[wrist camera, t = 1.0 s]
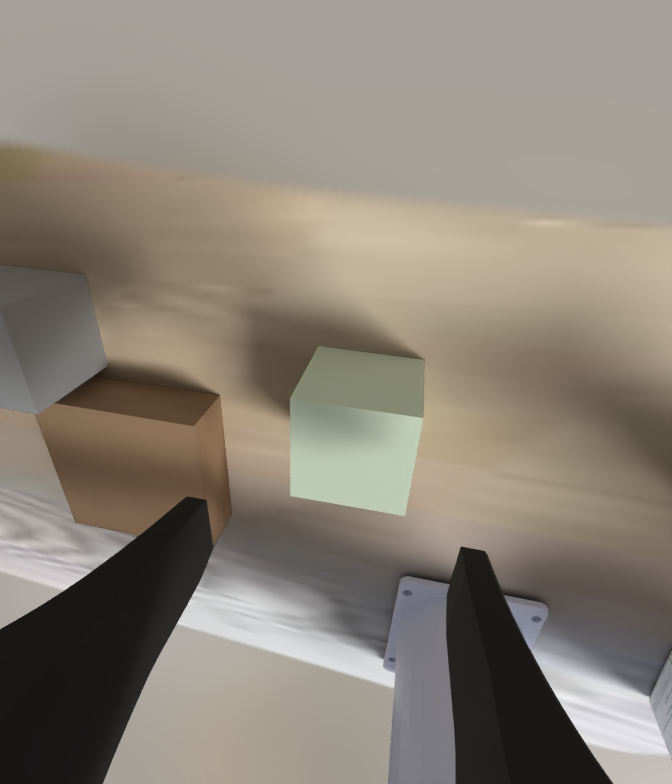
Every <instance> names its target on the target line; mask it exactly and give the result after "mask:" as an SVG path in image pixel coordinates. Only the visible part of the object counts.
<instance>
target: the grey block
mask: <svg viewBox="0 0 672 784" xmlns="http://www.w3.org/2000/svg"><path fill="white" fill-rule="evenodd" d="M107 366H108V364H107V360H106V356H105V352H104V348H103V344H102V340H101V336H100V332H99V327H98V323H97V319H96V315H95V311H94V307H93V303H92V299H91V295H90V291H89V287H88V283H87V279H86V275H85V274H80V273H71V272H62V271H53V270H45V269H36V268H27V267H19V266H10V265H1V264H0V408H3V409H9V410H15V411H21V412H27V413H33V414H39V413H41V412H42V411H44V410H45V409H47V408H48V407H49V406H51V405H52V404H54V403H55V402H57V401H58V400H59V399H61V398H62V397H64V396H65V395H67V394H68V393H70V392H71V391H72V390H74V389H75V388H77V387H78V386H80V385H81V384H82V383H84V382H85V381H87V380H88V379H90V378H91V377H93V376H94V375H95V374H97V373H98V372H100V371H101V370H103V369H104V368H105V367H107Z"/></svg>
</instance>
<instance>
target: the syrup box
mask: <svg viewBox="0 0 672 784" xmlns="http://www.w3.org/2000/svg"><path fill="white" fill-rule="evenodd" d="M649 702H650V705H651V708H652V710H653V713H654V716H655V718H656V721H657V724H658V726H659V728H660V731H661V733H662V736H663V739H664V741H665V744H666V747H667V749H668V752H669V754H670V757H671V760H672V651H671V653H670V655H669V657H668V659H667V661H666V663H665V666H664V668H663V670H662V671H661V674H660V676H659V678H658V680H657V682H656V685H655V687H654V689H653V692H652V694H651V696H650V698H649Z"/></svg>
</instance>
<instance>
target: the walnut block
mask: <svg viewBox="0 0 672 784" xmlns="http://www.w3.org/2000/svg"><path fill="white" fill-rule="evenodd" d="M35 415H36V418H37V420H38V423H39V426H40V428H41V431H42V434H43V437H44V439H45V442H46V445H47V447H48V450H49V453H50V455H51V458H52V461H53V463H54V466H55V469H56V472H57V474H58V477H59V480H60V482H61V485H62V488H63V490H64V493H65V496H66V499H67V501H68V504H69V507H70V509H71V512H72V515H73V517H74V520H75V523H80V524H85V525H90V526H95V527H99V528H104V529H109V530H114V531H119V532H123V533H128V534H133V535H138V536H139V535H140V534H142V533H143V532H144V531H145V530H147V529H148V528H149V527H150V526H151V525H153V524H154V523H155V522H156V521H157V520H159V519H160V518H161V517H162V516H163V515H165V514H166V513H167V512H168V511H169V510H171V509H172V508H173V507H174V506H175V505H177V504H178V503H179V502H180V501H181V500H183V499H184V498H185V497H187V496H189V497H194V498H199V499H205V500H207V506H208V513H209V520H210V527H211V534H212V541H213V548H214V546H215V544H216V542H217V540H218V539H219V537H220V535H221V533H222V531H223V529H224V528H225V526H226V524H227V522H228V520H229V518H230V517H231V515H232V509H231V499H230V489H229V480H228V470H227V460H226V450H225V440H224V430H223V420H222V410H221V401H220V395H215V394H208V393H201V392H195V391H188V390H181V389H175V388H168V387H161V386H155V385H148V384H141V383H135V382H128V381H121V380H115V379H108V378H101V377H95V376H93V377H91V378H90V379H88V380H87V381H85V382H84V383H82V384H81V385H80V386H78V387H77V388H75V389H74V390H72V391H71V392H70V393H68V394H67V395H65V396H64V397H62V398H61V399H59V400H58V401H57V402H55V403H54V404H52V405H51V406H49V407H48V408H47V409H45V410H44V411H42V412H41V413H39V414H35Z"/></svg>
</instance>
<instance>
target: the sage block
mask: <svg viewBox="0 0 672 784" xmlns="http://www.w3.org/2000/svg"><path fill="white" fill-rule="evenodd" d="M424 367H425V360H422V359H414V358H407V357H399V356H391V355H383V354H376V353H368V352H360V351H352V350H345V349H337V348H329V347H321V346H318V348H317V350H316V351H315V353H314V355H313V357H312V359H311V361H310V362H309V364H308V366H307V368H306V370H305V372H304V374H303V375H302V377H301V379H300V381H299V383H298V385H297V386H296V388H295V390H294V392H293V394H292V396H291V397H290V496H294V497H299V498H305V499H311V500H316V501H322V502H328V503H333V504H339V505H345V506H350V507H356V508H362V509H367V510H373V511H379V512H384V513H390V514H396V515H401V516H405V513H406V507H407V502H408V497H409V492H410V486H411V481H412V476H413V470H414V465H415V460H416V454H417V449H418V444H419V438H420V433H421V428H422V422H423V411H424Z"/></svg>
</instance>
